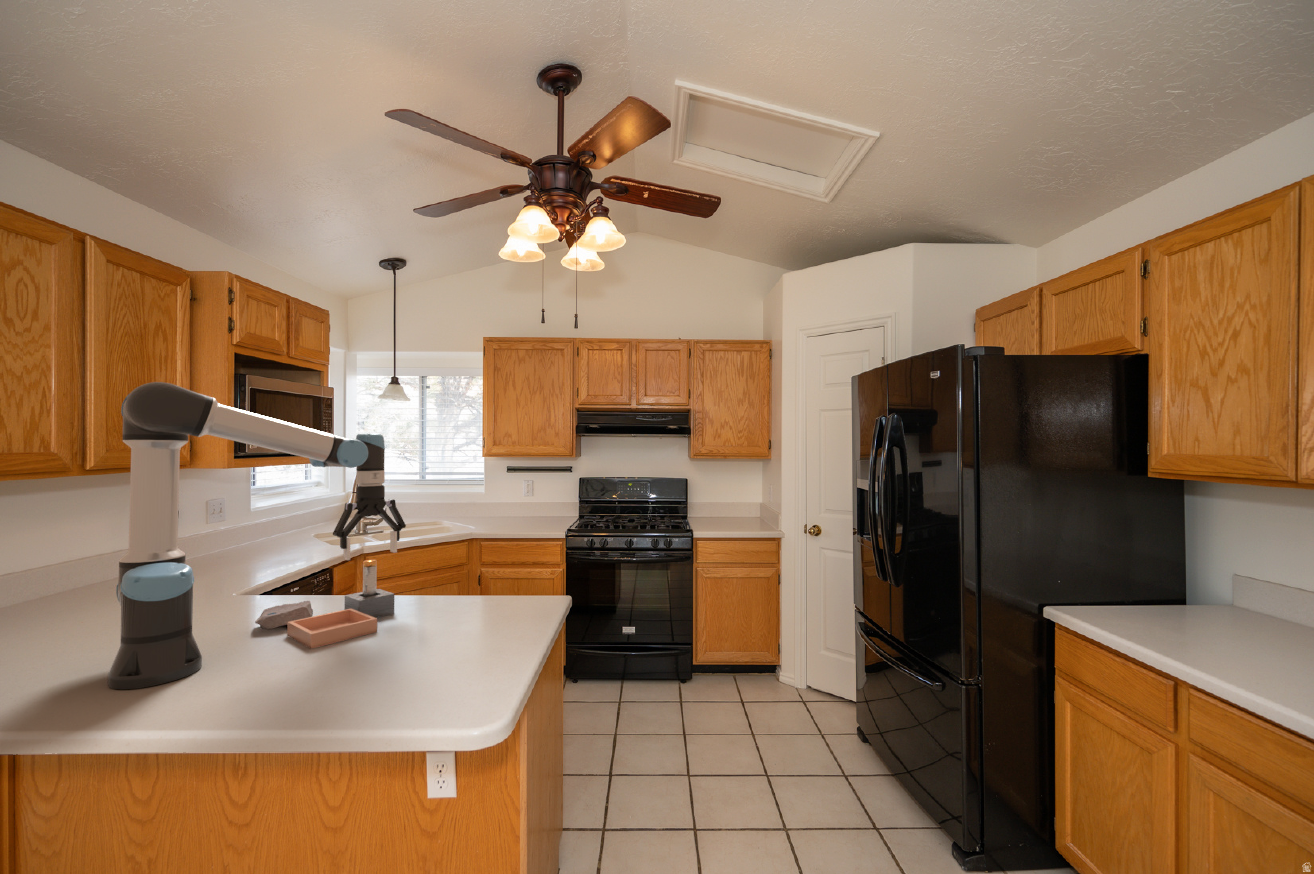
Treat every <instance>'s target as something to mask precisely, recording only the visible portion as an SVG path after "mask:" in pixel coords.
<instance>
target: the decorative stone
mask: <svg viewBox="0 0 1314 874" xmlns="http://www.w3.org/2000/svg"><path fill="white" fill-rule="evenodd" d="M313 615H314V610H313V608H312V603H311V601H310V600H304V601H301V602H297V603H296V602H294V603H283V604H281V605H275V606H272V607H269V608H266V609H263V611H262V612H261V614H260V616H259V617H258V618H257V619H256V620H255V624H256V625H259V626H260V628H261V629H264V630H266V629H267V630H272V629H275V628H278V627H282V626H287V622H290V621H295V620H299V619H304V618H309V617H313Z"/></svg>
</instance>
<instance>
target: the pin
mask: <svg viewBox="0 0 1314 874" xmlns="http://www.w3.org/2000/svg"><path fill="white" fill-rule="evenodd" d="M377 563H378V561H377V559H367V560H363V562H362V592H363V597H370V596H375V595H376V589H377V574H378V573H377V572H378V571H377V570H378V567H377Z"/></svg>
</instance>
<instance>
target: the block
mask: <svg viewBox="0 0 1314 874" xmlns="http://www.w3.org/2000/svg"><path fill="white" fill-rule="evenodd" d="M351 608H352V609H354V610H357V611H359V612H362V613H364V614H367V615H369V616H372V617H375V618H377V619H378V618H382V617H386V616H392V615H395V593H393V592H390V591H387V590H384V589H381V588H376V595H375V596H370V597H363V591H360V592H355V593H351V594H350V593H349V594H346V595H344V609H343V610H346V609H351Z"/></svg>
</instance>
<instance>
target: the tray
mask: <svg viewBox="0 0 1314 874" xmlns="http://www.w3.org/2000/svg"><path fill="white" fill-rule="evenodd" d="M286 626H287V627H286V628H287V629H286V630H287V631H286V635H287V637H288V638H290V639H292V640H293V641H296V642H297V643H300V644H302V645H303V646H305V647H307V648H309V649H317V648H319V647H323V646H327V645H332V644H335V643H340V642H344V641H348V640H351V639H355V638H356V639H357V638H359V637H363V636H367V635H371V634H375V633H377V632H378V618H375V617H372V616H369V615H367V614H364V613H362V612H359V611H357V610H354V609H352V608H351V609H346V610H344V609H343V610H341V609H340V610H337V611H331V612H329V613H323V614H319V615H314V616H312V617H309V618H304V619H299V620H295V621H290V622H287V625H286Z"/></svg>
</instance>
